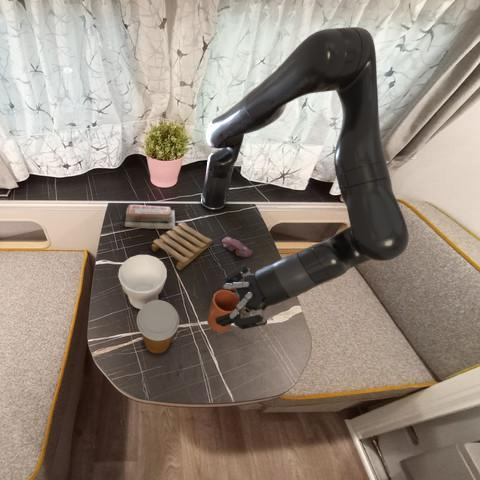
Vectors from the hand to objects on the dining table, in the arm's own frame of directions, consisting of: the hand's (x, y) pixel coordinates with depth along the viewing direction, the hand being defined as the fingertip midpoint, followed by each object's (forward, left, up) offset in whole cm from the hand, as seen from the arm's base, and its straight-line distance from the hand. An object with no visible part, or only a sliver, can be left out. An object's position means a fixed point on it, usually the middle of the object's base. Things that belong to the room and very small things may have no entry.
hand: (215, 309), depth 62 cm
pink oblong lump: (-29, -11, -11) cm, 33 cm away
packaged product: (-20, -42, -11) cm, 48 cm away
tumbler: (-1, +1, -5) cm, 6 cm away
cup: (+4, -20, -11) cm, 23 cm away
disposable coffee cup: (+11, -8, -11) cm, 18 cm away
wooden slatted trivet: (-18, -25, -11) cm, 33 cm away
